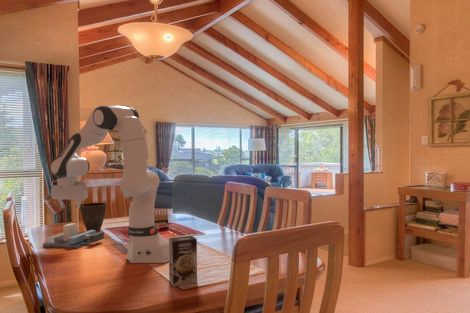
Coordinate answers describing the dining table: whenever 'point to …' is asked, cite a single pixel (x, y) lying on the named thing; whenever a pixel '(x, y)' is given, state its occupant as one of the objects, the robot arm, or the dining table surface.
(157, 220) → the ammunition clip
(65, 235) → the block
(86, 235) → the vise jaw
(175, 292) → the dining table surface
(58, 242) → the vise bed
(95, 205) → the plant pot
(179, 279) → the coffee box
